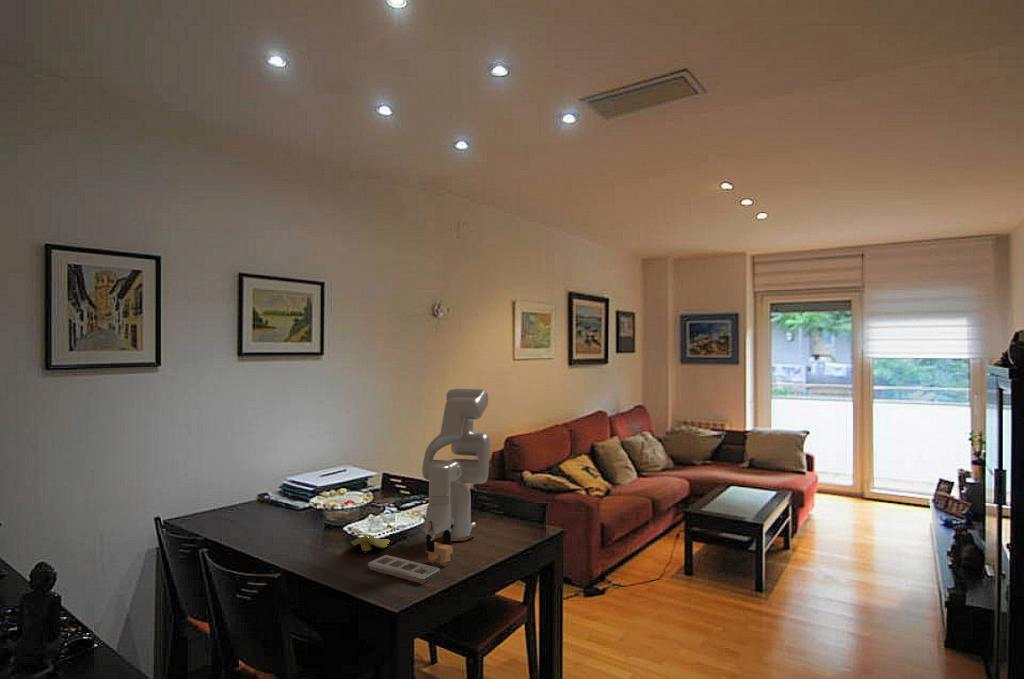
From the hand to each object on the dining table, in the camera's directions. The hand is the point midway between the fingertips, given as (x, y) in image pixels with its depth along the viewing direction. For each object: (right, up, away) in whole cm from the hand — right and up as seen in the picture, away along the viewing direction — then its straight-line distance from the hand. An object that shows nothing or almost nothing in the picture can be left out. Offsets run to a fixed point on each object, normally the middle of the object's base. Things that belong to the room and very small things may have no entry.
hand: (438, 547), depth 215 cm
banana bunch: (-27, -6, +18) cm, 33 cm away
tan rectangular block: (0, -6, +1) cm, 6 cm away
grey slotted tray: (-11, -6, -8) cm, 15 cm away
